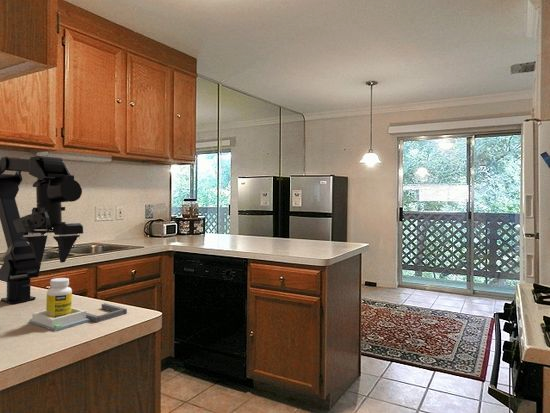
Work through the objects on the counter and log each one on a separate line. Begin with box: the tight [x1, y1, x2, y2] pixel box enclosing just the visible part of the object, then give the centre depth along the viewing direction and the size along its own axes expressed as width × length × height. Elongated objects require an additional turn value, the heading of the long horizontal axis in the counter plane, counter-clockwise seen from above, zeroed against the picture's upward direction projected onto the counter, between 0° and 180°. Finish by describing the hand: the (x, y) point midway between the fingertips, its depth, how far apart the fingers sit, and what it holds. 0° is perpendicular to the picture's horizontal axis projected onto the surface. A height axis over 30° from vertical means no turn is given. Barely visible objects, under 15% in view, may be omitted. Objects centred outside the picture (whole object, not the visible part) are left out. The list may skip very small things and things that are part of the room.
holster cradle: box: [86, 303, 128, 323], centre depth 102 cm, size 9×9×1 cm
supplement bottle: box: [45, 277, 73, 318], centre depth 95 cm, size 5×5×10 cm
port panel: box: [28, 306, 90, 332], centre depth 95 cm, size 11×8×2 cm
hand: (50, 262), depth 104 cm, fingers open, 9 cm apart
